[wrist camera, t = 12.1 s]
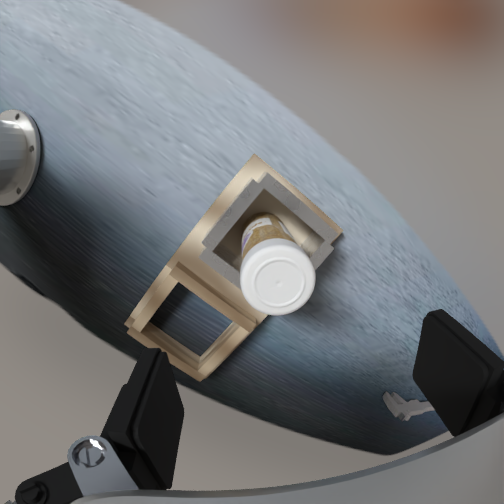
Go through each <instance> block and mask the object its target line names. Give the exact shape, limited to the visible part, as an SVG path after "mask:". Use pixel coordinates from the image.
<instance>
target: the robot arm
mask: <svg viewBox="0 0 504 504" xmlns="http://www.w3.org/2000/svg"><path fill="white" fill-rule="evenodd" d="M39 161H40V137H39V133H38V129H37V126H36V124H35V122H34V120H33V119H32V118H31V116H30V115H28V114H27V113H26V112H24V111H21V110H15V109H12V110H7V111H4V112H2V113H1V114H0V205H1V206H7V205H11V204H14V203H16V202H18V201H19V200H21V199H22V198H23V197H24V196H25V195H26V194H27V192H28V191H29V189H30V188H31V186H32V184H33V182H34V179H35V177H36V174H37V171H38V167H39ZM503 368H504V361H503V360H501V359H500V358H499V357H498V356H497V355H496V354H495V353H494V352H493V351H491V350H490V349H489V348H488V347H487V346H486V345H485V344H483V343H482V342H481V341H480V340H479V339H478V338H476V337H475V336H474V335H473V334H472V333H471V332H469V331H468V330H467V329H466V328H465V327H464V326H462V325H461V324H460V323H459V322H458V321H456V320H455V319H454V318H453V317H451V316H450V315H449V314H448V313H447V312H445V311H444V310H442V309H439V310H435V311H431V312H428V314H427V315H426V317H424V320H423V325H422V330H421V336H420V341H419V346H418V351H417V356H416V361H415V365H414V369H413V379H414V381H415V383H416V384H417V386H418V387H419V388H420V390H421V391H422V393H423V394H424V395H425V397H426V398H427V400H428V401H429V402H430V404H431V405H432V407H433V408H434V409H435V411H436V412H437V414H438V415H439V417H440V418H441V420H442V421H443V422H444V424H445V425H446V427H447V428H448V430H449V431H450V433H451V434H452V435H453V436H454V438H452V439H450V440H447V441H445V442H443V443H440V444H438V445H436V446H433V447H431V448H428V449H426V450H423V451H420V452H418V453H415V454H412V455H410V456H407V457H404V458H401V459H398V460H395V461H392V462H389V463H386V464H383V465H379V466H376V467H372V468H369V469H365V470H362V471H357V472H354V473H349V474H346V475H341V476H337V477H332V478H327V479H322V480H317V481H311V482H306V483H299V484H292V485H285V486H277V487H268V488H257V489H243V490H221V491H181V490H166V489H170V488H171V487H172V481H173V475H174V469H175V463H176V458H177V452H178V445H179V440H180V435H181V429H182V424H183V418H184V408H183V404H182V401H181V398H180V395H179V392H178V389H177V385H176V382H175V379H174V376H173V372H172V369H171V365H170V362H169V358H168V355H167V353H166V352H162V350H161V349H160V348H144V349H143V350H142V352H141V355H140V357H139V359H138V361H137V363H136V365H135V367H134V370H133V372H132V374H131V376H130V379H129V381H128V383H127V384H125V385H123V387H122V388H121V391H120V393H119V395H118V397H117V399H116V401H115V404H114V406H113V408H112V410H111V413H110V415H109V417H108V419H107V422H106V424H105V426H104V428H103V431H102V433H101V435H100V437H99V436H86V437H82V438H80V439H78V440H77V441H75V442H74V443H73V444H72V445H71V447H70V448H69V450H68V455H67V457H68V462H67V463H65V464H62V465H60V466H58V467H56V468H53V469H51V470H49V471H46V472H44V473H42V474H40V475H37V476H35V477H32V478H30V479H27V480H25V481H24V482H22V483H21V484H20V485H19V486H18V488H17V490H16V493H15V500H16V501H14V502H13V503H12V502H11V501H10V500H9V501H7V502H6V503H5V504H504V370H503Z"/></svg>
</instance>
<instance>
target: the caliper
mask: <svg viewBox="0 0 504 504" xmlns="http://www.w3.org/2000/svg"><path fill="white" fill-rule="evenodd" d="M382 398H383V400H384V402H385V404H386V405H387V407H388V409H389V410H390V411H391V412H392V413H393V415H394V416H395V417H399V419H400V420H401V421H403V420H404V419H405V420H406V421H408V420H409V418H410V417H411V416H412V415H418V414H423V412H426V411H433V410H435V409H434V408H433V407H432V405H431V404H430V402H429V401H428V402H419V401H418V400H417V399H416V400H410V401H409V402H406V401H405V400H404V399H402V398H401V397H400V396H399V395H398V394H396V393H395V392H393V393H392V394H391V395H389V393H388V392H387V391H386V392H385V393H384V395H383V396H382Z"/></svg>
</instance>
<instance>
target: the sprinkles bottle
mask: <svg viewBox="0 0 504 504" xmlns="http://www.w3.org/2000/svg"><path fill="white" fill-rule="evenodd" d="M241 238H242V258H243V262H242V265H241V269H240V285H241V290H242V293H243V295H244V297H245V299H246V301H247V302H248V303H249V304H250V305H251V306H252V307H253V308H254V309H256V310H257V311H259V312H262V313H264V314H268V315H285V314H289V313H292V312H294V311H296V310H298V309H299V308H300V307H302V306H303V305H304V304H305V303H306V302H307V301H308V299H309V298H310V296H311V295H312V293H313V290H314V287H315V280H316V276H315V270H314V267H313V264H312V262H311V260H310V259H309V257H308V256H307V254H306V253H305V251H304V250H303V249H302V248H301V247H300V246H299V245H298V244H297V242H296V241H295V239H294V238H293V236H292V235H291V234H290V232H289V231H288V229H287V228H286V227H285V225H284V223H283V222H282V221H281V220H280V219H279V217H278V216H276V215H274V214H272V213H269V212H260V213H256V214H254V215H252V216H251V217H249V218H248V219H247V220H246V222H245V223H244V224H243V227H242V230H241Z"/></svg>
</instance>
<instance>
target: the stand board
mask: <svg viewBox="0 0 504 504" xmlns="http://www.w3.org/2000/svg"><path fill="white" fill-rule="evenodd" d="M264 172H268V173H269V174H270V175H271V176H273V177H274V178H275V179H276V180H277V181H279V182H280V183H281V184H282V185H283V186H285V187H286V188H287V189H288V190H289V191H290V192H292V193H293V194H294V195H295V196H296V197H297V198H299V199H300V200H301V201H302V202H303V203H304V204H306V205H307V206H308V207H309V208H310V209H311V210H312V211H313V212H315V213H316V214H317V215H318V216H319V217H320V218H321V219H322V220H324V221H325V222H326V223H327V224H328V225H329V226H330V227H331V228H332V229H334V230H335V231H336V232H337V233H338V235H337V237H338V236H339V235H340V234H341V233H342V232H343V230H342V229H341V228H340V227H339V226H338V225H337V224H336V223H335V222H334V221H332V220H331V219H330V218H329V217H328V216H327V215H326V214H325V213H324V212H322V211H321V210H320V209H319V208H318V207H317V206H316V205H315V204H314V203H312V202H311V201H310V200H309V199H308V198H307V197H306V196H304V195H303V194H302V193H301V192H300V191H299V190H298V189H296V188H295V187H294V186H293V185H292V184H291V183H289V182H288V181H287V180H286V179H285V178H283V177H282V176H281V175H280V174H279V173H278V172H276V171H275V170H274V169H273V168H272V167H270V166H269V165H268V164H267V163H265V162H264V161H263V160H262V159H261V158H259V157H258V156H257V155H256V154H253V155H252V157H251V158H250V159H249V160H248V161H247V163H246V164H245V165H244V166H243V167H242V169H241V170H240V171H239V172H238V173H237V175H236V176H235V177H234V178H233V179H232V181H231V182H230V183H229V184H228V186H227V187H226V188H225V189H224V191H223V192H222V193H221V194H220V195H219V197H218V198H217V199H216V200H215V202H214V203H213V204H212V206H211V207H210V208H209V209H208V211H207V212H206V213H205V214H204V216H203V217H202V218H201V219H200V221H199V222H198V223H197V225H196V226H195V227H194V229H193V230H192V231H191V232H190V234H189V235H188V236H187V238H186V239H185V240H184V242H183V243H182V244H181V246H180V247H179V248H178V250H177V251H176V252H175V254H174V255H173V256H172V258H171V259H170V260H169V262H168V263H167V264H166V266H165V267H164V268H163V270H162V271H161V273H160V274H159V275H158V277H157V278H156V279H155V281H154V282H153V284H152V285H151V286H150V288H149V289H148V291H147V292H146V293H145V295H144V296H143V298H142V299H141V300H140V302H139V303H138V305H137V306H136V308H135V309H134V310H133V312H132V313H131V315H130V316H129V318H128V319H127V321H126V322H125V325H126V326H127V327H129V330H128V331H127V333H128V334H129V335H130V336H132V337H133V338H135V339H136V340H137V341H139V342H140V343H142V344H143V345H144V346H146V347H147V348H160V349H161V350H162V352H166V353H167V355H168V358H169V362H170V363H171V364H172V365H174V366H176V367H177V368H179V369H180V370H182V371H183V372H185V373H187V374H188V375H190V376H191V377H193V378H195V379H196V380H198V381H200V382H201V381H202V380H203V379H204V378H205V379H206V378H207V377H208V376H209V375H210V374H211V373H212V372H213V371H214V370H215V369H216V368H217V367H218V366H219V365H220V364H221V363H222V362H223V361H224V360H225V359H226V358H227V357H228V356H229V355H230V354H231V353H232V352H233V351H234V350H235V349H236V348H237V347H238V346H239V345H240V344H241V343H242V342H243V341H244V340H245V339H246V337H247V336H248V335H249V334H250V333H251V332H252V331H253V330H254V329H255V328H256V327H257V326H258V325H259V324H260V323H261V322H262V321H263V320H264V319H265V318H266V316H267V315H268V314H264V313H262V312H259V311H257V310H256V309H254V308H253V307H252V306H251V305H250V304H249V303H248V302H247V301H246V299H245V297H244V295H243V293H242V290H241V289H239V288H238V287H236V286H235V285H234V284H232V283H231V282H230V281H228V280H227V279H226V278H224V277H223V276H222V275H220V274H219V273H218V272H216V271H215V270H214V269H213V268H211V267H210V266H209V265H207V264H206V263H205V262H203V261H202V260H201V259H199V258H198V257H199V255H200V253H201V251H202V249H203V247H204V245H203V244H202V243H201V242H202V240H203V239H204V237H205V235H206V233H207V231H208V230H209V229H210V228H211V226H212V225H213V224H214V223H215V221H216V220H217V219H218V218H219V216H220V215H221V214H222V213H223V211H224V210H225V209H226V208H227V207H228V205H229V204H230V203H231V202H232V200H233V199H234V198H235V197H236V195H237V194H238V193H239V192H240V191H241V189H242V188H243V187H244V186H245V185H246V183H247V182H248V181H249V180H250V179H251V177H252V178H253V179H254V180H255V181H257V180H258V179H259V177H260V176H261V175H262V174H263V173H264ZM260 212H269V213H272V214H274V215H276V216H278V217H279V219H280V220H281V221H282V222H283V223H284V225H285V227H286V228H287V229H288V231H289V232H290V234H291V235H292V236H293V238H294V239H295V241H296V242H297V244H298V245H299V246H300V245H301V244H302V243H303V242H304V241H305V239H306V238H307V237H308V236H309V235H310V234H311V233H312V231H313V229H312V228H311V227H310V226H308V225H307V224H306V223H305V222H304V221H303V220H301V219H300V218H299V217H298V216H297V215H296V214H294V213H293V212H292V211H291V210H290V209H289V208H287V207H286V206H285V205H284V204H283V203H281V202H280V201H279V200H278V199H277V198H275V197H274V196H273V195H272V194H271V193H269V192H268V191H267V190H266V189H265V188H264V189H263V190H262V191H261V193H260V194H259V195H258V196H257V197H256V199H255V200H254V201H253V202H252V203H251V205H250V206H249V207H248V208H247V209H246V211H245V212H244V213H243V214H242V215H241V217H240V218H239V219H238V220H237V221H236V223H235V224H234V225H233V226H232V228H231V229H230V230H229V231H228V232H227V234H226V235H225V236H224V237H223V239H222V240H221V241H220V243H221V244H223V245H224V246H225V247H227V248H228V249H229V250H230V251H232V252H233V253H234V254H236V255H237V256H238V257H239V258H241V259H242V260H243V258H242V238H241V230H242V227H243V224H244V223H245V222H246V220H247V219H248V218H249V217H251V216H252V215H254V214H256V213H260ZM337 237H336V238H335V239H334V240H333V241H332V242H331V244H332V243H333V242H334V241H335V240H336V239H337ZM331 244H330V245H331ZM178 282H180V283H181V284H182V285H184V286H185V287H186V288H188V289H189V290H190V291H192V292H193V293H194V294H196V295H197V296H198V297H200V298H201V299H203V300H204V301H205V302H207V303H208V304H210V305H211V306H212V307H214V308H215V309H216V310H218V311H219V312H221V313H222V314H224V315H225V316H226V317H228V318H229V319H231V320H232V321H233V322H232V323H231V324H230V325H229V326H228V328H227V329H226V330H225V331H224V332H223V333H222V334H221V335H220V336H219V337H218V338H217V339H216V341H215V342H214V343H213V344H212V345H211V346H210V347H209V348H208V349H207V350H206V351H205V352H204V353H203V354H202V356H201V357H200V356H198V355H197V354H195V353H194V352H192V351H191V350H189V349H188V348H186V347H185V346H183V345H182V344H180V343H179V342H177V341H176V340H174V339H173V338H172V337H170V336H169V335H167V334H166V333H164V332H163V331H162V330H160V329H159V328H157V327H156V326H155V325H153V324H152V323H150V322H149V320H150V318H151V317H152V316H153V314H154V313H155V312H156V310H157V309H158V308H159V306H160V305H161V304H162V302H163V301H164V300H165V298H166V297H167V296H168V294H169V293H170V292H171V290H172V289H173V288H174V287H175V285H176V284H177V283H178Z"/></svg>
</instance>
